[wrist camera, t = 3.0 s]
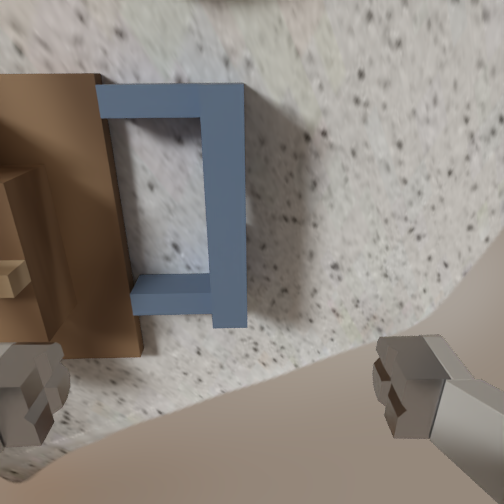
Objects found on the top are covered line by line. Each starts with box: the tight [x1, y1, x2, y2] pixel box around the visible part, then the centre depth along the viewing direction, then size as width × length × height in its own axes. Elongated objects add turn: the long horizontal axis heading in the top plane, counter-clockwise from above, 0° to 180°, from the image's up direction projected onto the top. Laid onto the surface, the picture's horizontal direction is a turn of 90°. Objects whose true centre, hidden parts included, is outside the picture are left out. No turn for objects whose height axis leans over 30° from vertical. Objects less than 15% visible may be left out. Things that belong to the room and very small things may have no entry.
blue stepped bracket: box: [95, 83, 247, 328], centre depth 21 cm, size 7×13×4 cm, turn 0°
